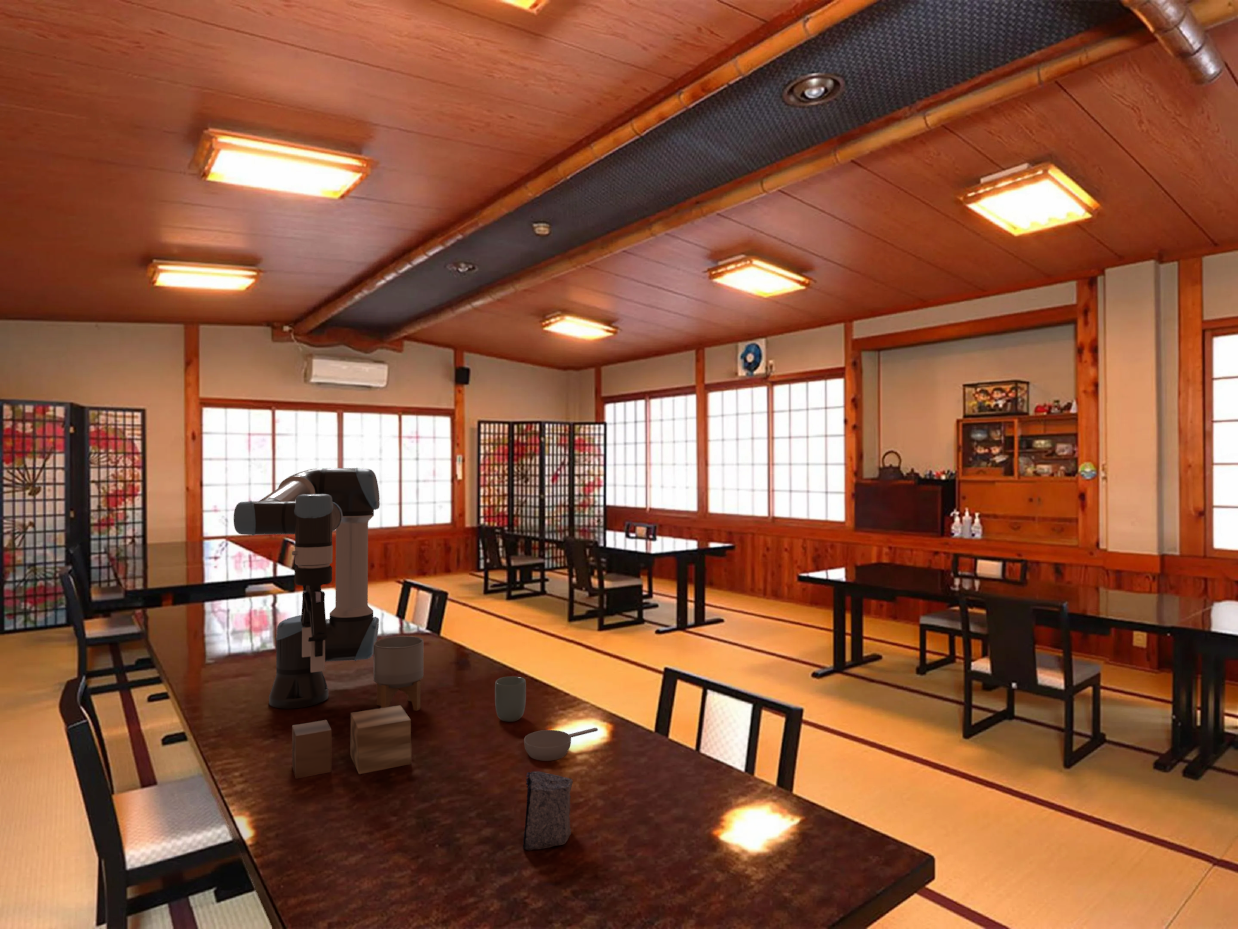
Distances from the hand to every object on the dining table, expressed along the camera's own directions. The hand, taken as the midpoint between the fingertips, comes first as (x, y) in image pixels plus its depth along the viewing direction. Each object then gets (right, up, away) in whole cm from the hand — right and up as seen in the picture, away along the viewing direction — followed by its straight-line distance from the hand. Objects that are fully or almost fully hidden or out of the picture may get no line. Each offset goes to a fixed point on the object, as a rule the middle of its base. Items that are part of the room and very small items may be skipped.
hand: (313, 663), depth 157 cm
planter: (+6, -23, +40) cm, 46 cm away
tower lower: (+13, -23, +5) cm, 27 cm away
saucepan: (+53, -24, +11) cm, 59 cm away
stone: (+54, -23, -28) cm, 65 cm away
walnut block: (0, -23, 0) cm, 23 cm away
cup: (+38, -23, +31) cm, 54 cm away
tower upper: (+13, -18, +5) cm, 23 cm away
